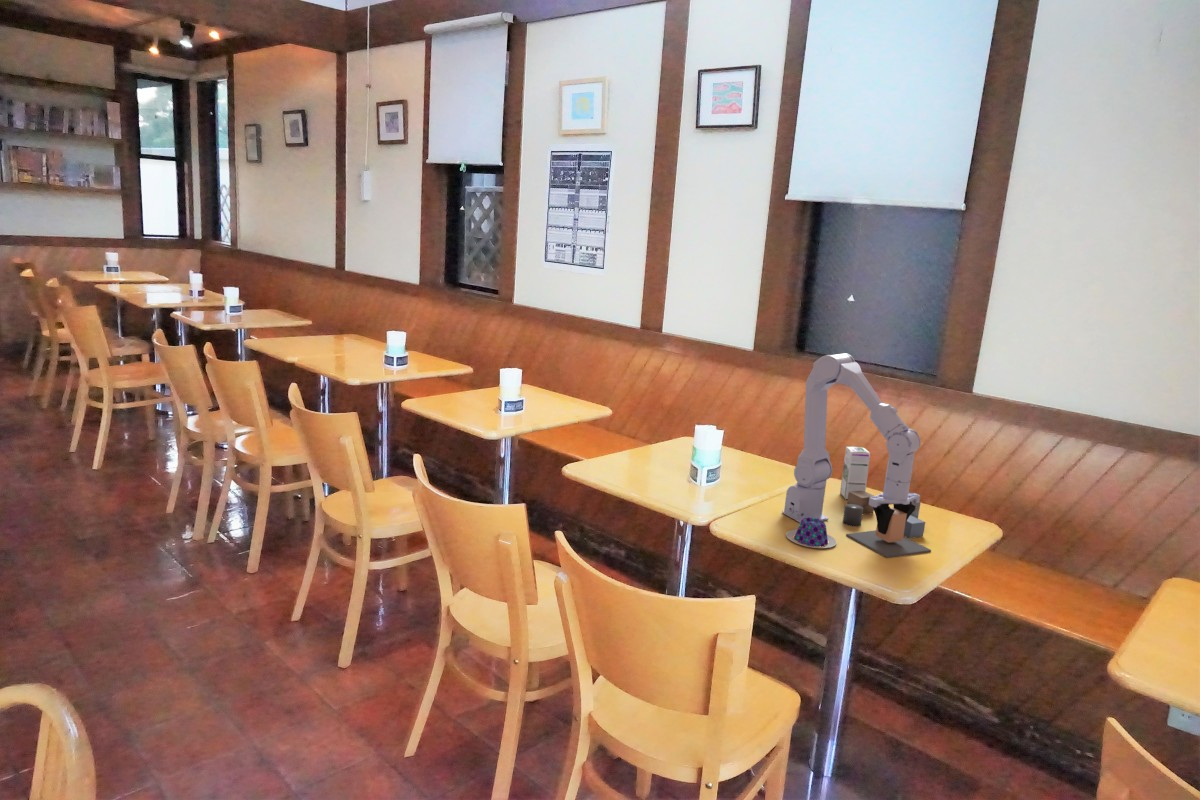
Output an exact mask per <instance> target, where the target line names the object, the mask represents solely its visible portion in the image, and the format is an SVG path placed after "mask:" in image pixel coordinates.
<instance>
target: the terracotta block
mask: <svg viewBox="0 0 1200 800" xmlns="http://www.w3.org/2000/svg"><path fill="white" fill-rule="evenodd" d="M890 508H891V509H893V510H894V513H893V515H892V517H891V519H890V522H889V526H888V530H887V532H886V534H882V533H880V532H878V524H877V523H876V529H875V530H876V534H875V536H877V537H879V538H881V539H883V540H885V541H887V542H888V543H889V542H897V541H903V536H904V529H905V522H906V516H907V514H906V513H904V512H902V511H900V510H898V509H896V508H894V506H893V507H890Z"/></svg>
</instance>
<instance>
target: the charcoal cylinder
mask: <svg viewBox="0 0 1200 800" xmlns="http://www.w3.org/2000/svg"><path fill="white" fill-rule="evenodd" d="M862 514H863V507H861V506H859V505H855V504H847V503H846V504H845V505H844V510H843V517H842V523H843V524H844V523H845V524H844V525H846V524H847V525H846V526H849V525H850V527H860V526H861V525H862V520H863V515H862Z"/></svg>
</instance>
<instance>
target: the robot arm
mask: <svg viewBox="0 0 1200 800" xmlns="http://www.w3.org/2000/svg"><path fill="white" fill-rule="evenodd" d="M805 381H806V382H805V400H804V402H805V404H804V405H805V406H804V430H803V431H804V434H803V435H804V436H803V441H804V442H803V448H802V450H801V452H800V453H799V455H798V456H797V463H796V466H795V467H794V469H793V476H794V480H796V482H797V483H795V484H794V485H791V486H788V487H787V490H786V495H785V502H784V508H783V509H784V510H782V511H781V513H782V514H784V515H786V516H787V517H789V518H791V519H792V520H794V521H797V522H798V523H800V522H801V520H802V519H803V518H809V517H810V518H817V519H819V520H822V521H828V520H829V517H827V516H825V515H824V514H823V508H824V502H825V494H826V487H827V480H829V479H830V478H831V477H832V476H833V475H832V474H833V466H832V462H831V459H830V456H831V455H830V453H829V452H828V451H827V449H826V442H827V441H826V439H827V438H826V437H827V435H826V434H827V416H828V415H827V412H828V390H829V389H830V388H831V387H833V386H834V385H836V384H839V385H840V384H841V385H843V386H847V387H850V389H851V390H852V391H854V393H855V394H856V395H857V397H858V399H860V400H861V402H862V403H863V404H864V405H865V406H866V407H867V409H868V410H869V412H870V416H869V418H870V420H871V422H872V423H873V425H874V426H875V427H876V428H877V430H878V431H879V433H881V435H882V436H883V437H884V439H885V440H886V441H885V445H886V449H887V451H888V459H887V466H886V470H885V471H886V472H885V479H884V486H883V492H882V493H880V494H877V495H874V497H870V498H869V505H870V506H872V507H873V509H874V511H873V513H874V514H875V518H876V525H877V524H878V532H880V533H882V534H886V532H887V530H888V526H889V522H890V519H891V517H892V515H893V513H894V510H893V509H891V508H892V507H890V505H893V508H896V509H898V510H900V511H902V512H904V513H906V514H907V516H906V521H907V519H908V518H909V516H910V515H911V514H912V513H913V511H914V510H915V507H916V506H914V505H912V504H911V503H912V502H915V503H919V501H920V500H921V495H920V494H918V493H916V492H910V487H911V486H910V485H911V480H912V473H913V467H914V461H915V455H916V453H915V452H916V451H917V450H919V448H920V446H921V438H920V435H919V433H918V431H916V430H914V429H912V428H910V426H909V425H908V424H905V422H904V421H903V420H902V418H901V417H900V416H899V414H898V413H897V412H898V410H897V408H896V406H894V407H893V406H892V405H891V404H889V403H883V402H882V400H881V398H880V397H879V395H878V394H877V393H876V391H875V389H874V388H873V386H872V385H871V383H870V382H869V380H868V379H867V378H866V376H865V375H864V372H863V371H862V369H861V365H860V364H858V362H857V361H855V358H854V357H853V356H852V355H851V354H849V353H846V352H843V353H837V354H827V355H826V354H825V355H823V356H821V357H819V358H818V359H816V360H815V361H814V362H813V366H812V370H811V371H810V374H809V375H808V377H807V379H806V380H805ZM905 523H906V522H905Z"/></svg>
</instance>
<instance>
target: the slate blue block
mask: <svg viewBox="0 0 1200 800" xmlns="http://www.w3.org/2000/svg"><path fill="white" fill-rule="evenodd" d="M925 526H926V521H924V520H922V519H920V518H919V517H918V518H915V517H913V516H911V515H910V516H909V518H908V519H907V521H906V523H905V529H904V535H903V536H904V537H906V538H908V537H909V538H908V539H913V537H915V538H920V537H921V536H923V537H924V533H925V528H926V527H925Z"/></svg>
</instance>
